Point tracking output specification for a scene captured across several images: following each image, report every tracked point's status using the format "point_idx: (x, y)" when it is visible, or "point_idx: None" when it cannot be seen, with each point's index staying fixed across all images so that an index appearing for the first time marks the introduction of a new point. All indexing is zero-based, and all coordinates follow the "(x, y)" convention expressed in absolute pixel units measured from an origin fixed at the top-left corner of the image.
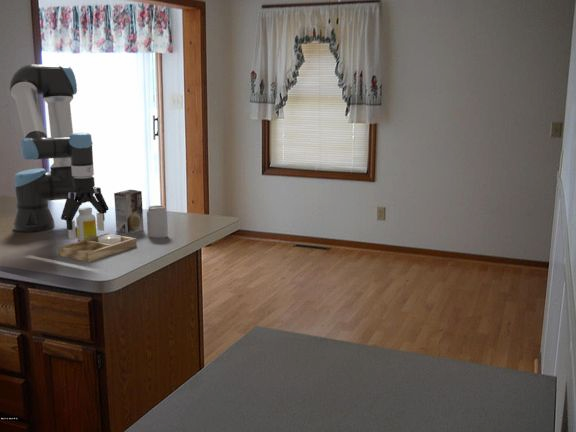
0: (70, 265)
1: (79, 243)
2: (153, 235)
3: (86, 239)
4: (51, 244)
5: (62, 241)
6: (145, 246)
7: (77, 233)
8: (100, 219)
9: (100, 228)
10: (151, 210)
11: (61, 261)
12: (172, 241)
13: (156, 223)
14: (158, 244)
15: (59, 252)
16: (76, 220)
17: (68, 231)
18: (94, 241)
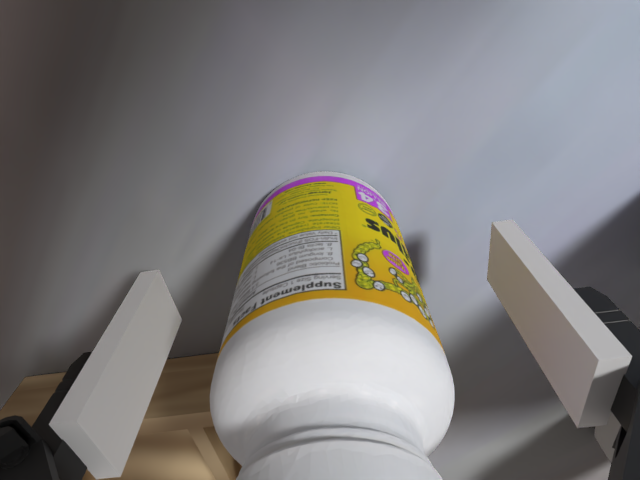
0: None
1: (139, 429)
2: (602, 447)
3: (209, 413)
4: (59, 37)
5: (193, 16)
6: (459, 463)
7: (243, 258)
8: (541, 344)
9: (496, 269)
10: None
11: None
12: (591, 477)
13: None
14: (516, 473)
15: (5, 413)
16: (217, 360)
17: (116, 314)
18: None
